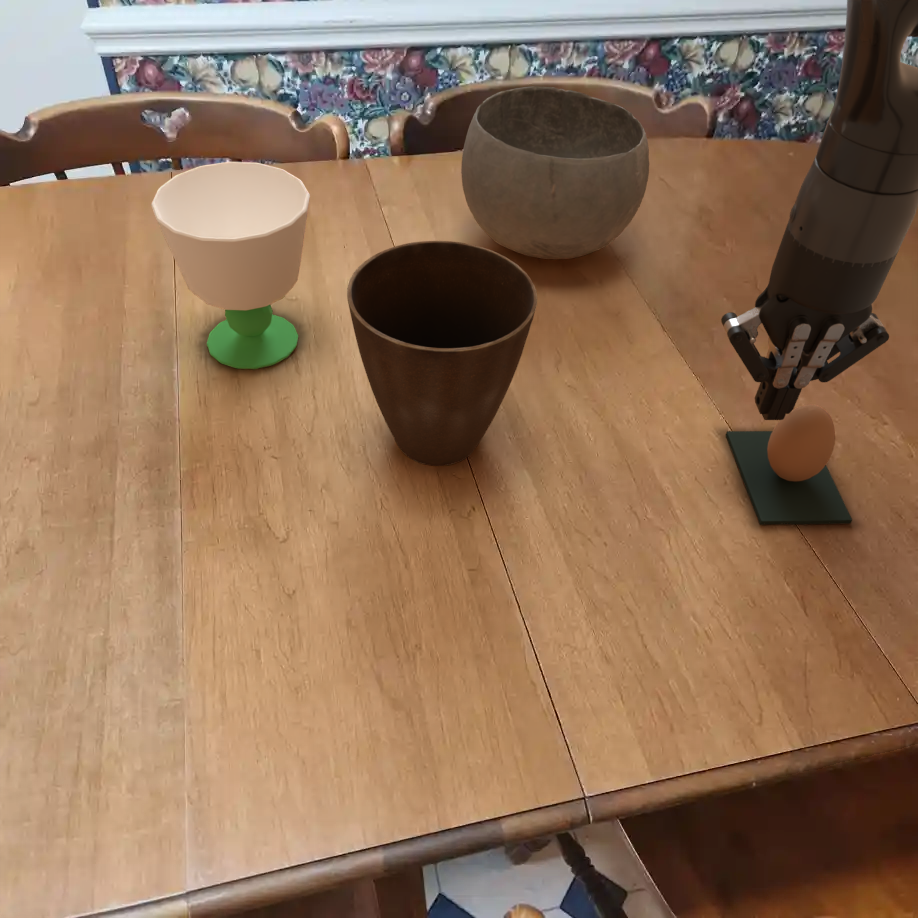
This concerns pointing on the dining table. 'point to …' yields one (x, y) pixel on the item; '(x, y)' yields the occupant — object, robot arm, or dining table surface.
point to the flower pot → (440, 341)
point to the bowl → (553, 171)
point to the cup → (238, 252)
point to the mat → (784, 487)
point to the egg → (801, 443)
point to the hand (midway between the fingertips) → (770, 413)
